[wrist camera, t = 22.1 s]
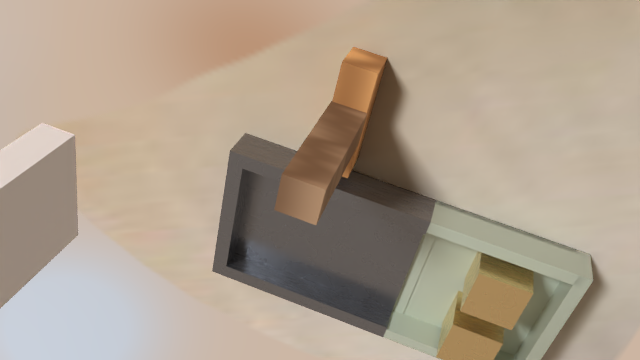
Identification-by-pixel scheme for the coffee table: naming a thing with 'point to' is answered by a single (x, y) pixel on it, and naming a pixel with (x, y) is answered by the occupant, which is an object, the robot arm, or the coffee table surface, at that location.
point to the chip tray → (452, 267)
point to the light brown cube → (496, 290)
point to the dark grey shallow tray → (319, 239)
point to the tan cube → (468, 336)
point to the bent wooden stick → (332, 140)
